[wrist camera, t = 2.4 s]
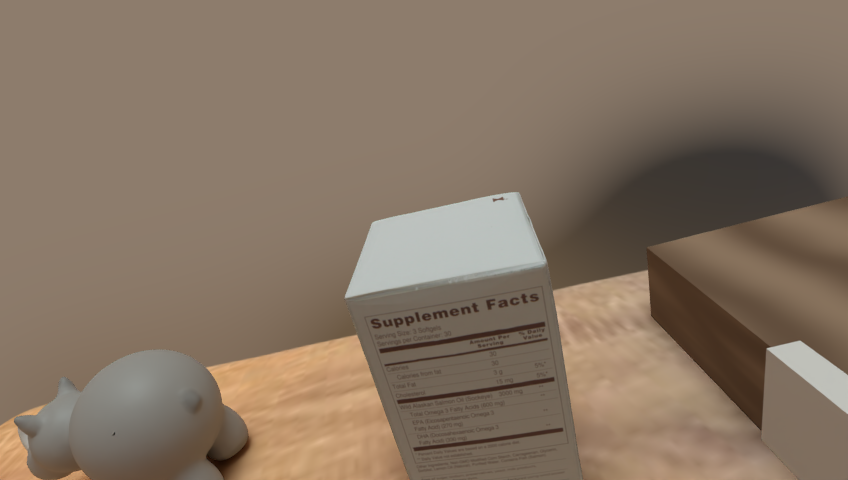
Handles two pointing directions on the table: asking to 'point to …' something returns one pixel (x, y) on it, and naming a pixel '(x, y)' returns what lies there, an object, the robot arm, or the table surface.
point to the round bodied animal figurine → (135, 423)
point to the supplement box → (466, 343)
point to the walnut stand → (756, 294)
